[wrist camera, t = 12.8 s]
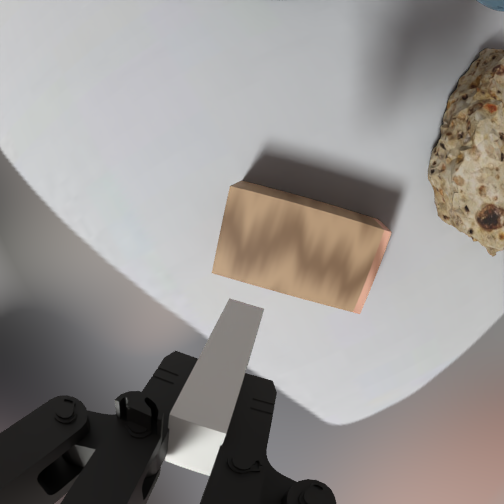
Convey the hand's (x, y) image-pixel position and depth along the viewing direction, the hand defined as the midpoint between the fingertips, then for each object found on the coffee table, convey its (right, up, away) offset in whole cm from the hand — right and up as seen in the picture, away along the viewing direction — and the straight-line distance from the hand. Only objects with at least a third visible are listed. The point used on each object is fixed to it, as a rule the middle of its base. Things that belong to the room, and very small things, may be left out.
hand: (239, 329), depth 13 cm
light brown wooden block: (-2, +6, +16) cm, 17 cm away
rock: (+26, +14, +11) cm, 32 cm away
